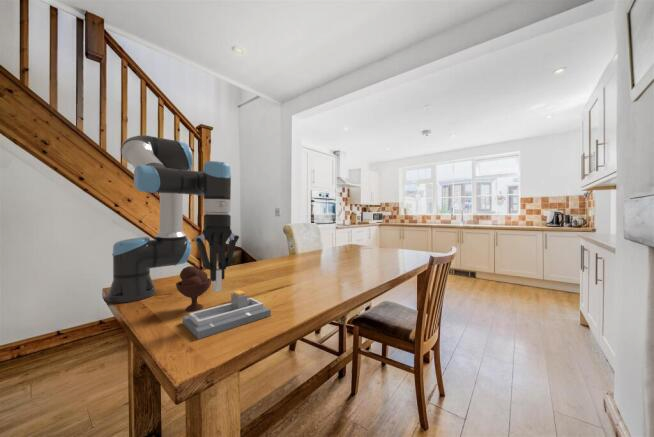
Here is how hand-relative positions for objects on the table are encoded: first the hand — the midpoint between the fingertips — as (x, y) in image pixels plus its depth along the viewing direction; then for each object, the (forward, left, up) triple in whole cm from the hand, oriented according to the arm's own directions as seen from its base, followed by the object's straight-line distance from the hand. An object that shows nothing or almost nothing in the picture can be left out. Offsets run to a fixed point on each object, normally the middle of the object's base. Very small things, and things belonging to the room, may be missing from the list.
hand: (217, 290), depth 78 cm
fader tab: (+1, +7, -8) cm, 10 cm away
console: (+1, +3, -10) cm, 10 cm away
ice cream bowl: (-17, -1, -10) cm, 20 cm away
